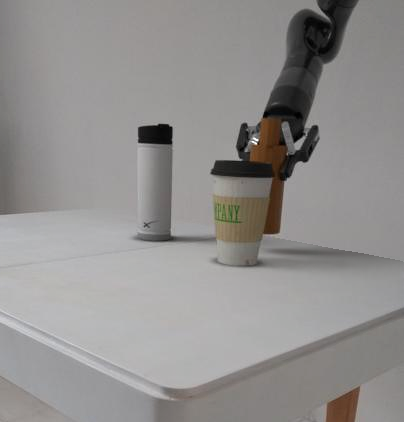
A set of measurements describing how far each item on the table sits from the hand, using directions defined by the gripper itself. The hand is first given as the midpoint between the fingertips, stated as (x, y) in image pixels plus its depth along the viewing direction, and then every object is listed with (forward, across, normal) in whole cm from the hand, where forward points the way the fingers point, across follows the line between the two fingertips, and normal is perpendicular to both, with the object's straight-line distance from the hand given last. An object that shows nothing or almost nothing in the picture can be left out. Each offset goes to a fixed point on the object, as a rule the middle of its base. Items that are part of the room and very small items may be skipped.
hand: (263, 175), depth 93 cm
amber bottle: (+5, 0, -8) cm, 9 cm away
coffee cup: (+16, 0, -2) cm, 16 cm away
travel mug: (+8, +21, -10) cm, 25 cm away
